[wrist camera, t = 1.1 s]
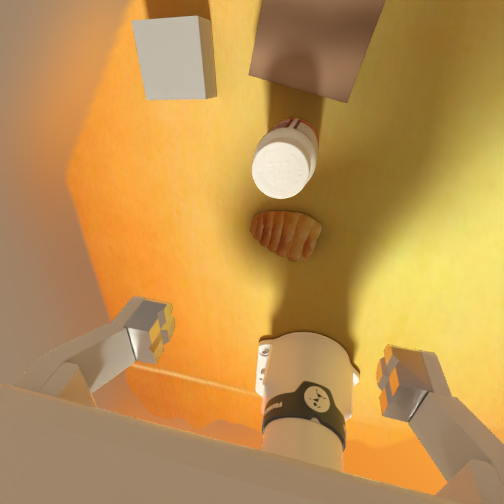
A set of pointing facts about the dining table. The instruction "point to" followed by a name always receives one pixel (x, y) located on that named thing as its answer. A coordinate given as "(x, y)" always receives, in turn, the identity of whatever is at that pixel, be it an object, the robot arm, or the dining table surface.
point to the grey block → (176, 57)
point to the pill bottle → (285, 158)
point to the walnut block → (314, 43)
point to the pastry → (287, 233)
